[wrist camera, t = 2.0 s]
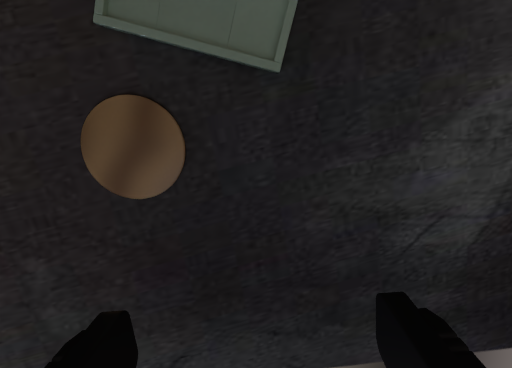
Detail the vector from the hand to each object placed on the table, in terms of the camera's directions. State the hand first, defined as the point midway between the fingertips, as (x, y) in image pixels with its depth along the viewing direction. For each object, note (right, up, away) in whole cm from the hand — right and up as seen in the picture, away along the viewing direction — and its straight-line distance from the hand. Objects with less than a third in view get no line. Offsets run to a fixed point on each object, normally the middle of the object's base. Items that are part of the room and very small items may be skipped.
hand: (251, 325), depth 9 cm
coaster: (-13, +8, +21) cm, 26 cm away
